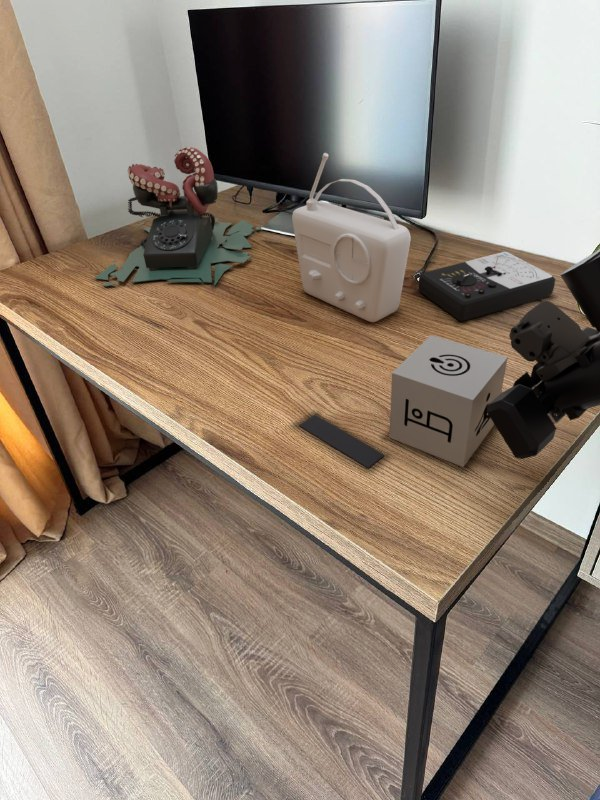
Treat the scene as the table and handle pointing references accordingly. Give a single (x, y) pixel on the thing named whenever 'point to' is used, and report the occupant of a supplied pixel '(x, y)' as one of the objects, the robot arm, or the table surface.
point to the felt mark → (342, 441)
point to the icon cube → (445, 398)
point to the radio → (351, 255)
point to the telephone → (180, 226)
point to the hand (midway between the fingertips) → (497, 409)
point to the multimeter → (485, 285)
